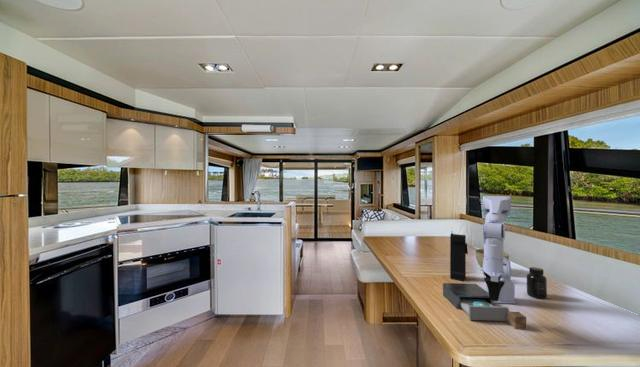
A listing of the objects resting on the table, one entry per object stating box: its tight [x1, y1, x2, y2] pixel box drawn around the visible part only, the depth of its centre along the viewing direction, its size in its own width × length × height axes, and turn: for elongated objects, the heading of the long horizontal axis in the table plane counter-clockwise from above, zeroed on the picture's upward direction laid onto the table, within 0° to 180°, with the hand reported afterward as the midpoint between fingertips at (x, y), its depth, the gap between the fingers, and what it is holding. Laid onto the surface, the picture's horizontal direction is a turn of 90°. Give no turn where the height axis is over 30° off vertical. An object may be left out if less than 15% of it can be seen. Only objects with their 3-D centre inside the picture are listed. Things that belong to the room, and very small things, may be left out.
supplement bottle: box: [526, 266, 548, 300], centre depth 115 cm, size 7×7×12 cm
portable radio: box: [449, 232, 469, 282], centre depth 137 cm, size 8×6×25 cm
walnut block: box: [507, 311, 527, 330], centre depth 90 cm, size 4×4×4 cm
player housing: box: [442, 282, 495, 310], centre depth 109 cm, size 14×13×5 cm
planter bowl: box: [474, 248, 510, 268], centre depth 148 cm, size 16×16×11 cm
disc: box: [473, 301, 490, 306], centre depth 98 cm, size 6×6×2 cm
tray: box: [459, 299, 509, 322], centre depth 99 cm, size 13×13×5 cm
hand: (493, 296), depth 91 cm, fingers open, 7 cm apart
